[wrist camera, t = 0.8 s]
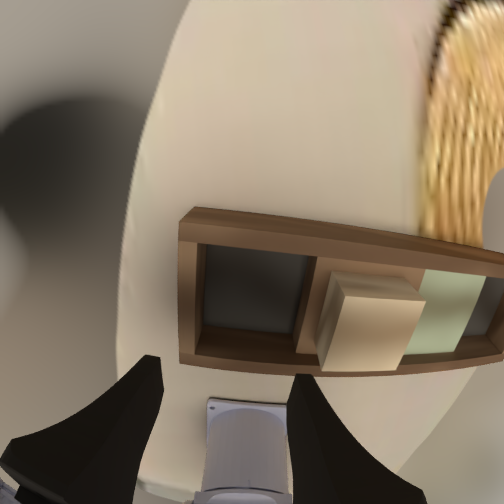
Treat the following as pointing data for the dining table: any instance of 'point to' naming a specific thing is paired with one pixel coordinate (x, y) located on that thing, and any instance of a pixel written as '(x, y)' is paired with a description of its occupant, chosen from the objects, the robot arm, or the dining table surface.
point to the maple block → (366, 322)
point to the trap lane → (324, 293)
